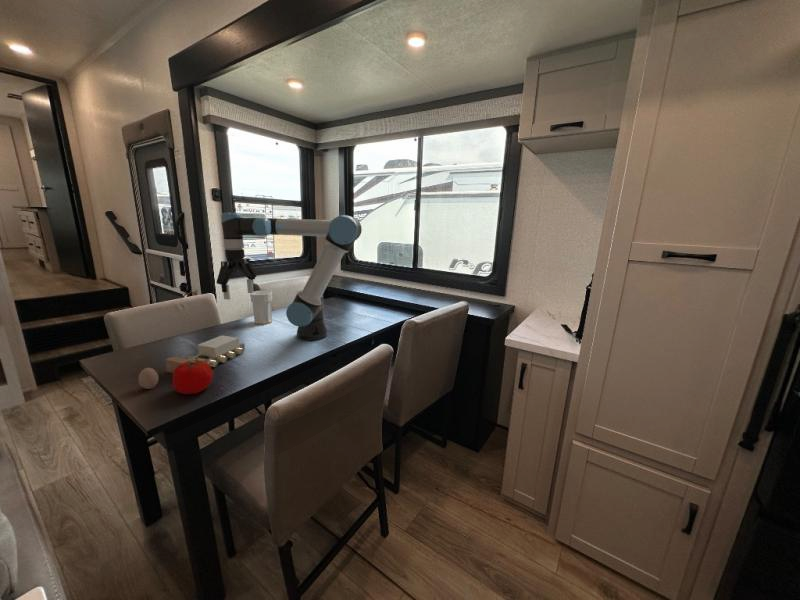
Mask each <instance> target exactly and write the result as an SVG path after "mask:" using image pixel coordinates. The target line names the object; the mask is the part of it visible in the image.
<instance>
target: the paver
mask: <svg viewBox="0 0 800 600" xmlns="http://www.w3.org/2000/svg"><path fill="white" fill-rule="evenodd" d="M239 344H240V340H239V337H236V336H235V337H233V336H229V335H228V336H227V335H219V336H217V337H214V338H212V339H209V340H206V341H203V342H201V343H198V344H197V350H198V351H197V352H198V353H199V354H201V355H206V356H211V357H218V356H220V355H222V354H225V353H227V352H229V351H231V350H233V349H235V348H238V347H239ZM198 353H197V354H198Z"/></svg>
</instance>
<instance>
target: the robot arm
mask: <svg viewBox="0 0 800 600" xmlns="http://www.w3.org/2000/svg"><path fill="white" fill-rule="evenodd" d="M220 217H221V226H222V233H223V245H224V249H225V250H224V253H225V259H226V261H225V260H224V261H221V262H220V269H219V272H218V275H217V279H216V284H217V285H221V292H222V293H223V299H224V300H231V295H230V285H229V284H228V283H229V281H230V279H231V277H232V275H233V273H234V272H235V271H238V270H239V271H241V272H242V273H243V275H244V276H245V277H246V285H247V287H246V288H247V293H248V294H250V293H254V280H255V279H256V277H257V273H256V271H255V270H254V268H253V266H252V264H251V260H250V258H245V257H246V254H245V250H244V249H245V247H244V236H255V237H258V236H259V237H265V236H299V237H300V236H301V237H302V236H305V237H306V236H307V237H324V241H325V243H326V244H325V246H324V248H323V250H322V251H321V254H320V255H319V257H318V260H317V262H316V263H315V265H314V267H313V270H312V271H311V273H310V275H309V277H308V280H307V281H306V283H305V285H304V287H303V289H302V290H299V291H297V293H296V295H295V297H294V298H293V301H292V303H290V304H289V305H288V306H287V308H286V311H285V312H286V318H287V320H288V322H289V323H290V324H291V325H293V326H296V327H297V330H296V337H297V338H298V339H299V340H303V341H315V340H316V341H317V340H322V339H325V337H327V336H328V328H327V326H326V323H325V319H324V295H323V294H324V293H325V291H326V289H327V288H328V285H329V283H330V281H331V280H332V277H333V276H334V274H335V273H336V270H337V268H338V266H339V265H340V262H341V261H342V258H343V257H344V255H345V254H346V253H350V251H351V249H352V247H353V245H354V243H355V241H357V240H358V239H359V238H360V236H361V234H362V225H361V223H360V221H359V220H358V219H357V218H356V217H354V216H351V215H348V214H341V215H338V216H335V217H332V219H305V218H303V219H302V218H301V219H300V218H294V219H293V218H271V217H267V218H266V217H265V218H264V217H242V215H241V213H239V212H222V213H221V215H220Z"/></svg>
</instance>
